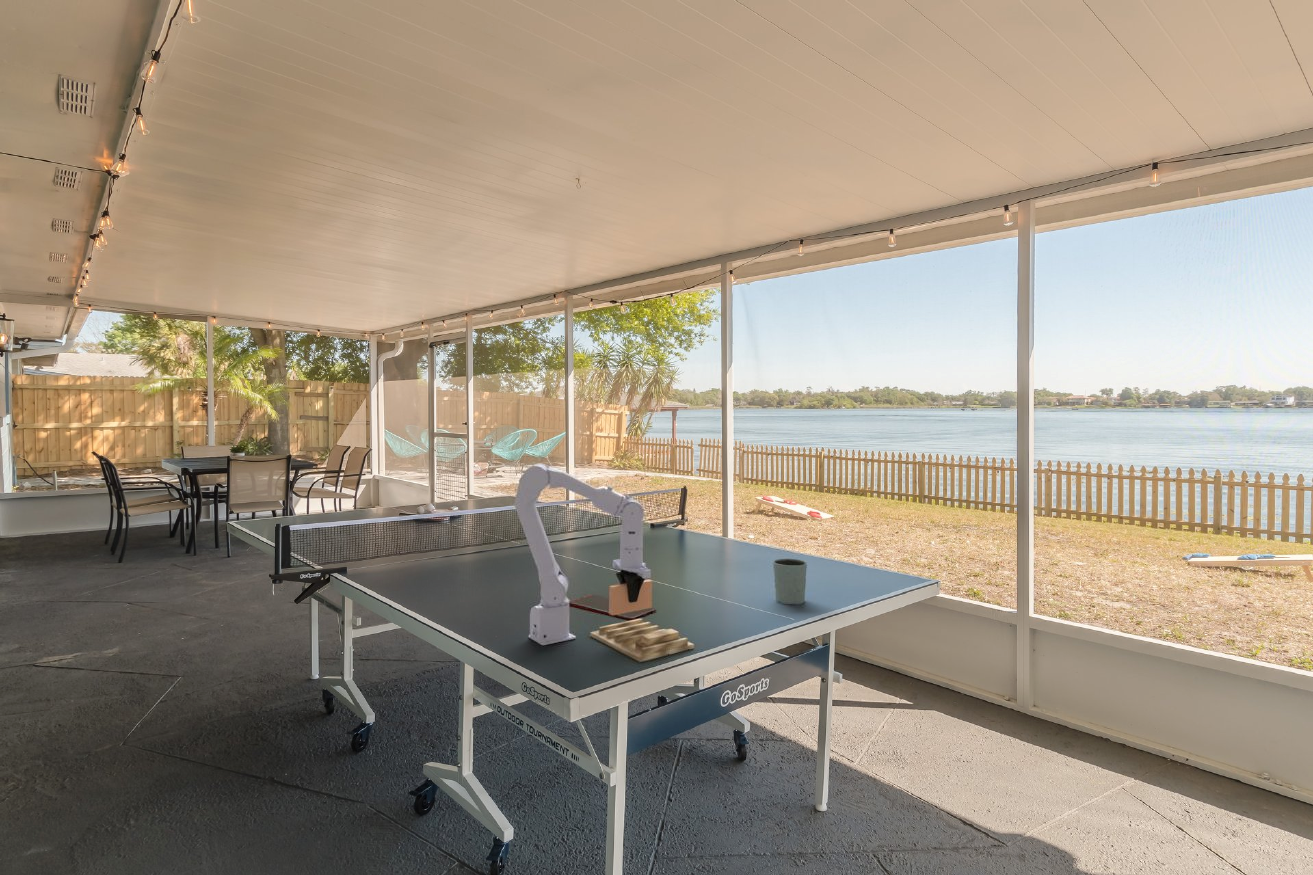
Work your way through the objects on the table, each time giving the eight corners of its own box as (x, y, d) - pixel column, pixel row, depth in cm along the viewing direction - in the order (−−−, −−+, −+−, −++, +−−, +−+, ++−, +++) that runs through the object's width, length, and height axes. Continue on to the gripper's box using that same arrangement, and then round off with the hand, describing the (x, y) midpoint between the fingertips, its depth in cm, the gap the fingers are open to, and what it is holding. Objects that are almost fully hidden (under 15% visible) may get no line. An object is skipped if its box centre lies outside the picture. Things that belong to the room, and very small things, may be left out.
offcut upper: (648, 645, 160) (648, 638, 160) (641, 641, 163) (641, 635, 162) (678, 637, 165) (678, 631, 165) (671, 634, 168) (671, 628, 168)
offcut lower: (643, 652, 159) (643, 646, 159) (635, 648, 162) (635, 642, 162) (680, 643, 166) (680, 637, 166) (672, 639, 168) (672, 633, 168)
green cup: (806, 606, 203) (807, 566, 202) (771, 604, 205) (772, 564, 204) (805, 597, 213) (806, 559, 212) (773, 595, 215) (773, 557, 214)
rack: (639, 661, 156) (639, 651, 156) (590, 636, 174) (590, 626, 174) (693, 648, 166) (693, 638, 165) (641, 624, 183) (641, 615, 183)
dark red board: (631, 618, 187) (566, 601, 202) (631, 624, 187) (566, 606, 202) (658, 608, 196) (594, 592, 211) (658, 613, 196) (594, 597, 211)
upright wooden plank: (612, 615, 169) (612, 587, 169) (609, 613, 170) (609, 585, 170) (651, 607, 176) (652, 580, 176) (648, 606, 177) (648, 579, 177)
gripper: (661, 550, 169) (660, 605, 169) (628, 541, 181) (628, 592, 181) (637, 553, 165) (636, 609, 165) (606, 544, 176) (605, 596, 177)
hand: (630, 600), depth 173 cm, fingers closed on upright wooden plank, 1 cm apart
